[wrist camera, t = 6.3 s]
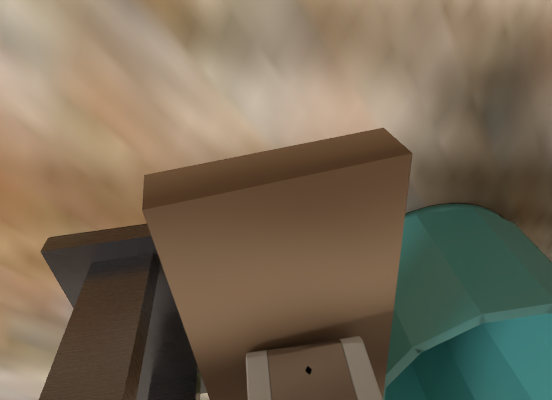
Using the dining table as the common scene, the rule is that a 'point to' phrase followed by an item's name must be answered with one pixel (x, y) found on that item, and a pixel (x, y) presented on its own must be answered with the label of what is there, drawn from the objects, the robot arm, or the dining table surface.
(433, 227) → the cup
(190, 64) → the dining table surface
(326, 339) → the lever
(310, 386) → the robot arm
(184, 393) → the lever stand
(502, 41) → the dining table surface
